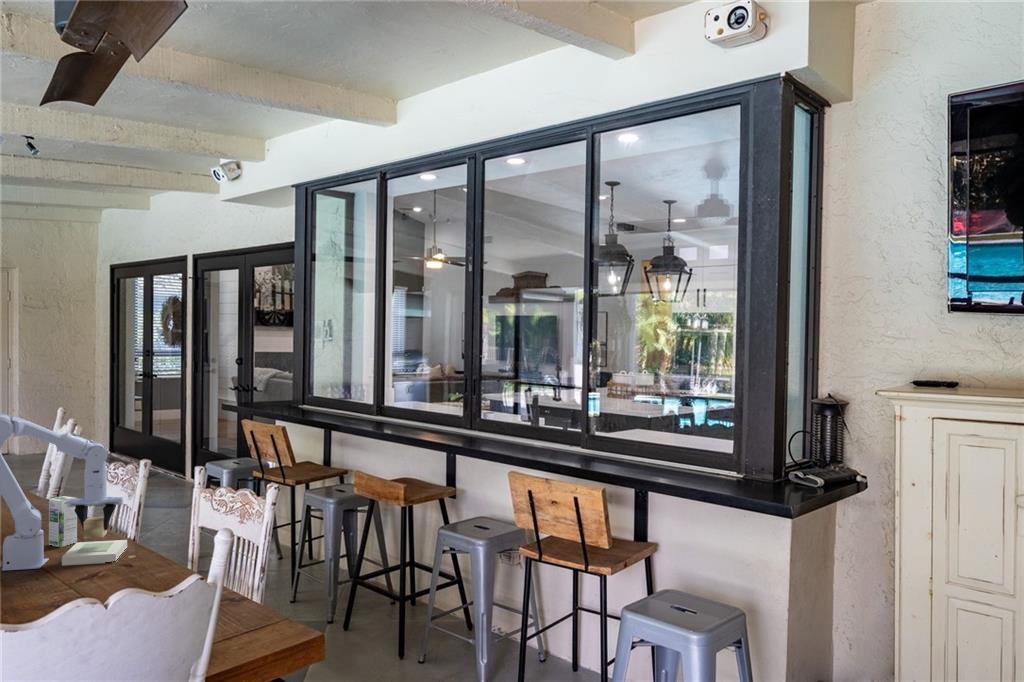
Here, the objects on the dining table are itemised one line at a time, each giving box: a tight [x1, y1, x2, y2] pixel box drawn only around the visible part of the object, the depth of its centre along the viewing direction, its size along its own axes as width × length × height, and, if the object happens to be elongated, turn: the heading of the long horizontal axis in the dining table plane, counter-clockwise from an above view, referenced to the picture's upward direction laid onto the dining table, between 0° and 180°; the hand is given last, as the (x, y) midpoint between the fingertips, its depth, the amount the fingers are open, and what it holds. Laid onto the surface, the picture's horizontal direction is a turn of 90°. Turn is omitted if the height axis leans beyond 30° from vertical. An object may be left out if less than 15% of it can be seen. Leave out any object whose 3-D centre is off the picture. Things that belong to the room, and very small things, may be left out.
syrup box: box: [48, 495, 78, 548], centre depth 236 cm, size 6×6×14 cm
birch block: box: [83, 516, 108, 540], centre depth 224 cm, size 5×5×5 cm
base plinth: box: [61, 539, 128, 567], centre depth 225 cm, size 14×14×3 cm
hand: (95, 529), depth 225 cm, fingers closed on birch block, 5 cm apart
